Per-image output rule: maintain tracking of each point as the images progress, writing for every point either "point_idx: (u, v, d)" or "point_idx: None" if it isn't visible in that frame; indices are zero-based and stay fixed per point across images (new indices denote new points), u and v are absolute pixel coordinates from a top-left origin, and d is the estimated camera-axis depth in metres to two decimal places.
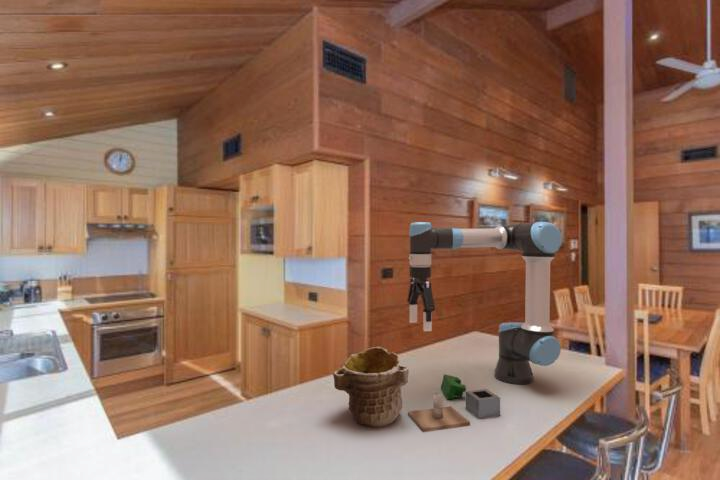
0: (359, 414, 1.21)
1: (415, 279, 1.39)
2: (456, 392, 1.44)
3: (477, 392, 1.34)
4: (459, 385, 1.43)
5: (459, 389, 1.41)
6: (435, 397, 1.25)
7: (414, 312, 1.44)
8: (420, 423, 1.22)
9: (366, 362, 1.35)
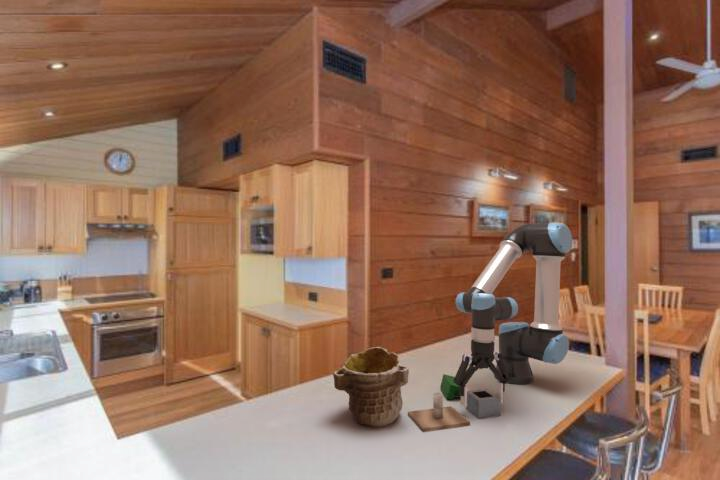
0: (359, 414, 1.21)
1: None
2: (455, 392, 1.44)
3: (477, 392, 1.34)
4: (458, 385, 1.43)
5: (458, 389, 1.41)
6: (435, 397, 1.25)
7: (499, 390, 1.33)
8: (420, 423, 1.22)
9: (366, 362, 1.35)
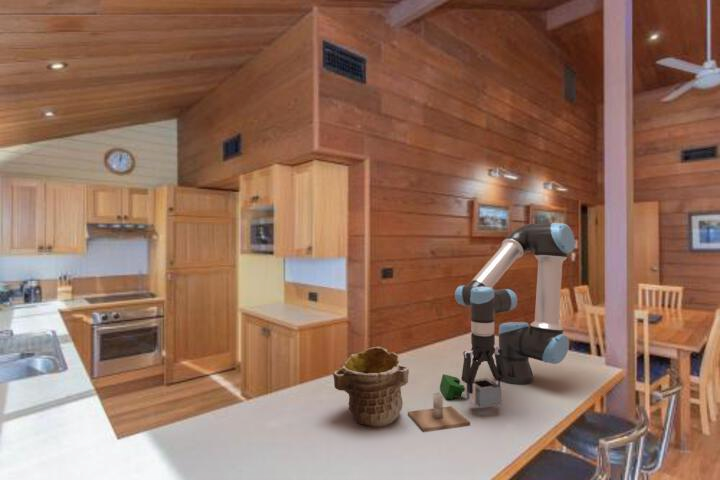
0: (359, 414, 1.21)
1: None
2: (455, 392, 1.44)
3: (478, 381, 1.34)
4: (458, 385, 1.43)
5: (458, 389, 1.41)
6: (435, 397, 1.25)
7: None
8: (420, 423, 1.22)
9: (366, 362, 1.35)
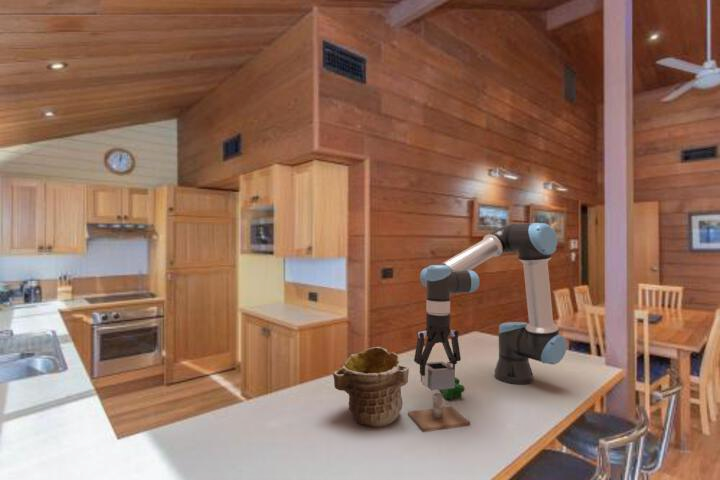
0: (359, 414, 1.21)
1: None
2: (454, 392, 1.44)
3: (433, 364, 1.28)
4: (457, 385, 1.43)
5: (457, 389, 1.41)
6: (435, 397, 1.25)
7: None
8: (420, 423, 1.22)
9: (366, 362, 1.35)
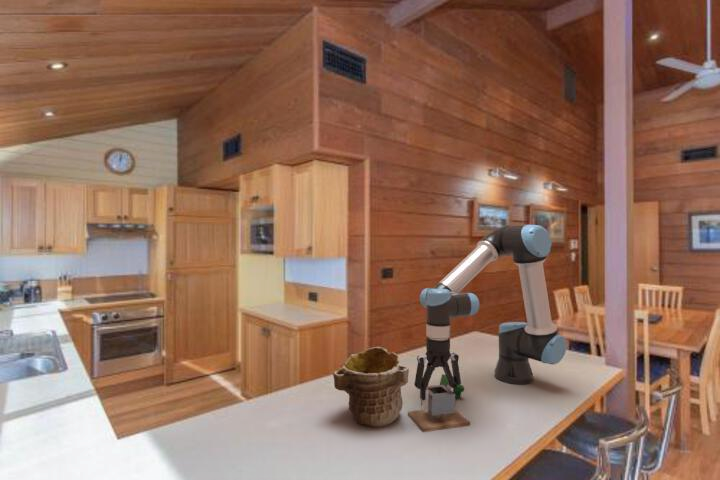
0: (359, 414, 1.21)
1: None
2: None
3: (433, 388, 1.29)
4: (457, 385, 1.43)
5: (457, 389, 1.41)
6: None
7: None
8: (420, 423, 1.22)
9: (366, 362, 1.35)
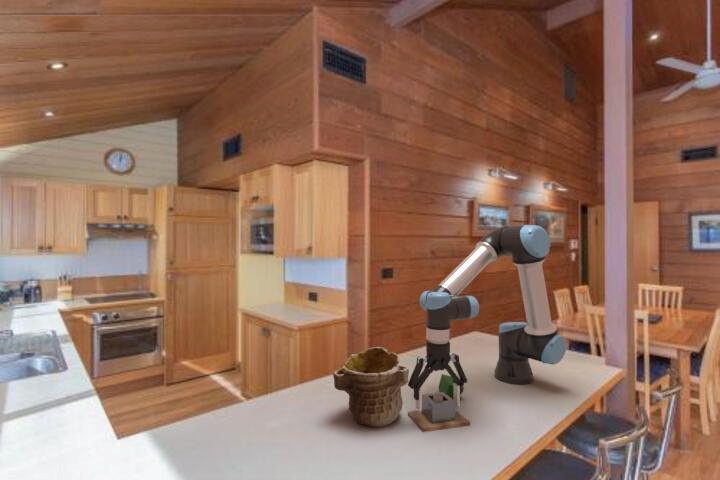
0: (359, 414, 1.21)
1: None
2: None
3: None
4: None
5: None
6: (435, 397, 1.25)
7: (455, 393, 1.28)
8: (420, 423, 1.22)
9: (366, 362, 1.35)
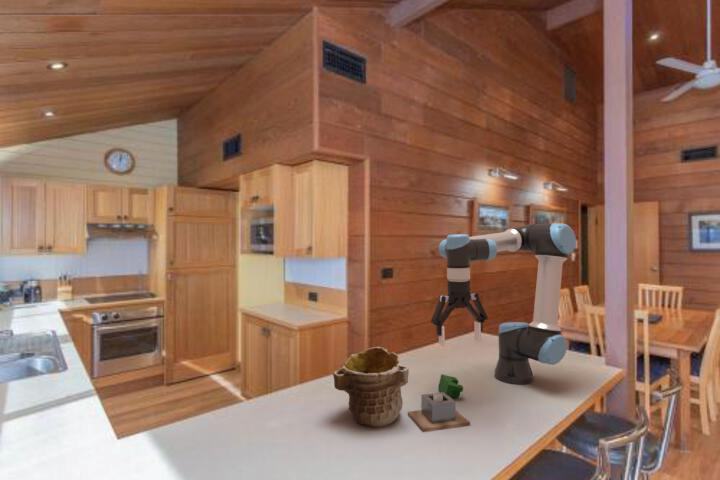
0: (359, 414, 1.21)
1: None
2: (453, 392, 1.44)
3: None
4: (456, 385, 1.43)
5: (456, 389, 1.41)
6: (435, 397, 1.25)
7: (477, 330, 1.34)
8: (420, 423, 1.22)
9: (366, 362, 1.35)
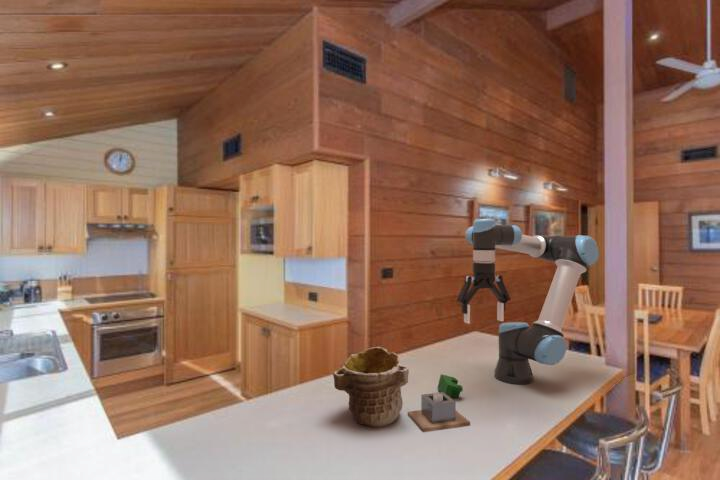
0: (359, 414, 1.21)
1: None
2: (453, 392, 1.44)
3: None
4: (456, 385, 1.43)
5: (456, 389, 1.41)
6: (435, 397, 1.25)
7: (499, 310, 1.41)
8: (420, 423, 1.22)
9: (366, 362, 1.35)
